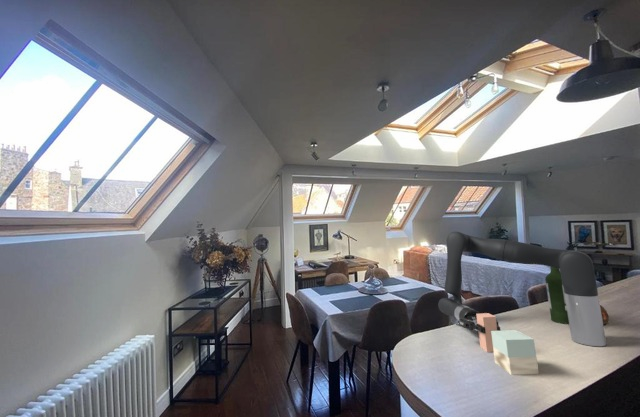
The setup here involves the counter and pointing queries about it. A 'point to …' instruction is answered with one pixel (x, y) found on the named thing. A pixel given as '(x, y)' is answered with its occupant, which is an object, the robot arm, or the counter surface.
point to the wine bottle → (556, 297)
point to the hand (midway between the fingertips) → (491, 330)
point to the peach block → (490, 325)
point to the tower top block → (513, 343)
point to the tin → (604, 315)
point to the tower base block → (516, 363)
